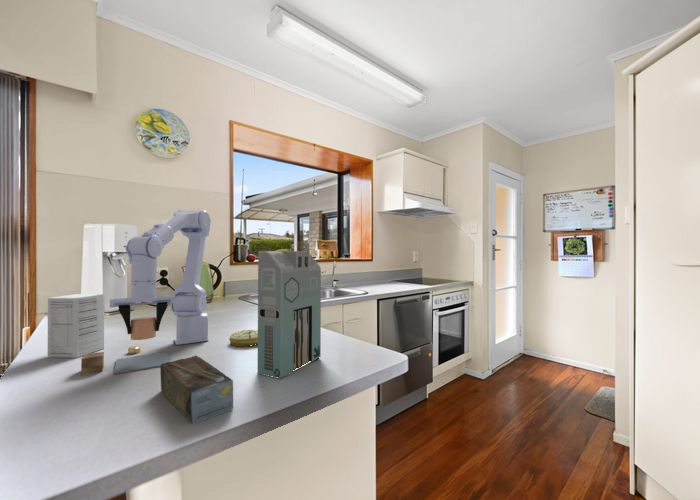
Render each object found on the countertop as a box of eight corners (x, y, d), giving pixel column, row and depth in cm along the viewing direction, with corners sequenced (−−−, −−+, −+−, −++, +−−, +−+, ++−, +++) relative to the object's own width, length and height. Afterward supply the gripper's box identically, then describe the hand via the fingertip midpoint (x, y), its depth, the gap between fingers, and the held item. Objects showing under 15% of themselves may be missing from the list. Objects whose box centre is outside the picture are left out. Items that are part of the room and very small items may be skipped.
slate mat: (167, 353, 93) (167, 351, 93) (170, 365, 83) (170, 363, 83) (116, 360, 87) (116, 359, 87) (113, 374, 77) (113, 372, 77)
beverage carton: (189, 427, 54) (189, 388, 54) (158, 392, 68) (158, 361, 68) (234, 410, 60) (234, 375, 60) (197, 381, 73) (197, 353, 73)
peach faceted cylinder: (155, 334, 89) (155, 316, 89) (156, 337, 84) (156, 319, 85) (130, 336, 86) (131, 318, 86) (130, 341, 81) (130, 321, 81)
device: (281, 379, 74) (282, 251, 74) (256, 373, 78) (257, 251, 78) (320, 359, 88) (321, 251, 89) (298, 355, 92) (299, 251, 92)
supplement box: (105, 348, 98) (106, 293, 98) (76, 358, 88) (77, 297, 89) (77, 347, 99) (77, 293, 99) (45, 357, 89) (46, 297, 90)
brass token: (140, 350, 96) (140, 345, 96) (140, 353, 93) (140, 348, 93) (128, 352, 94) (128, 347, 94) (128, 355, 92) (128, 349, 92)
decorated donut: (243, 338, 111) (243, 327, 111) (270, 340, 108) (270, 329, 108) (222, 346, 101) (222, 334, 101) (251, 349, 98) (251, 337, 98)
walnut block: (103, 367, 82) (103, 351, 82) (102, 372, 79) (102, 355, 79) (83, 370, 80) (83, 354, 80) (81, 375, 76) (81, 358, 76)
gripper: (109, 283, 78) (108, 339, 78) (176, 281, 86) (175, 331, 86) (111, 281, 84) (110, 333, 84) (173, 279, 92) (173, 326, 92)
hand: (143, 331), depth 85 cm, fingers closed on peach faceted cylinder, 6 cm apart
